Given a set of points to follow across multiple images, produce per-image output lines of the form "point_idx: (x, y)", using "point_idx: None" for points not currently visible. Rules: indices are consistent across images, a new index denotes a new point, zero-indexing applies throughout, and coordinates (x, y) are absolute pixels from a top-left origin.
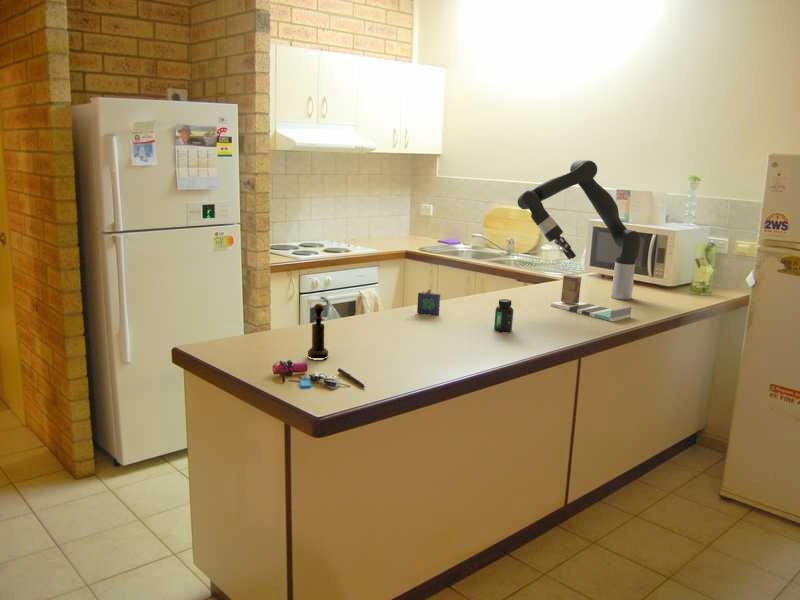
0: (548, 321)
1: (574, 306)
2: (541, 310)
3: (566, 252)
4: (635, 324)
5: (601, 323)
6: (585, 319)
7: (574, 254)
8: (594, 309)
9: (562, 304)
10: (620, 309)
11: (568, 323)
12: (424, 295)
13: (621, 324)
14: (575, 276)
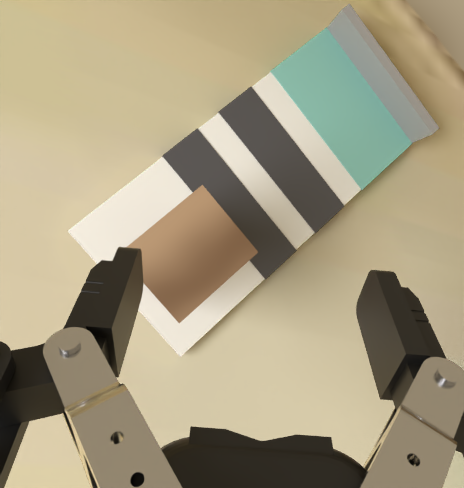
0: None
1: None
2: (275, 412)
3: (118, 346)
4: (427, 60)
5: (437, 193)
6: (392, 242)
7: (416, 297)
8: (285, 164)
9: (205, 301)
10: (400, 78)
11: (461, 328)
12: None
13: (437, 117)
14: (193, 229)
